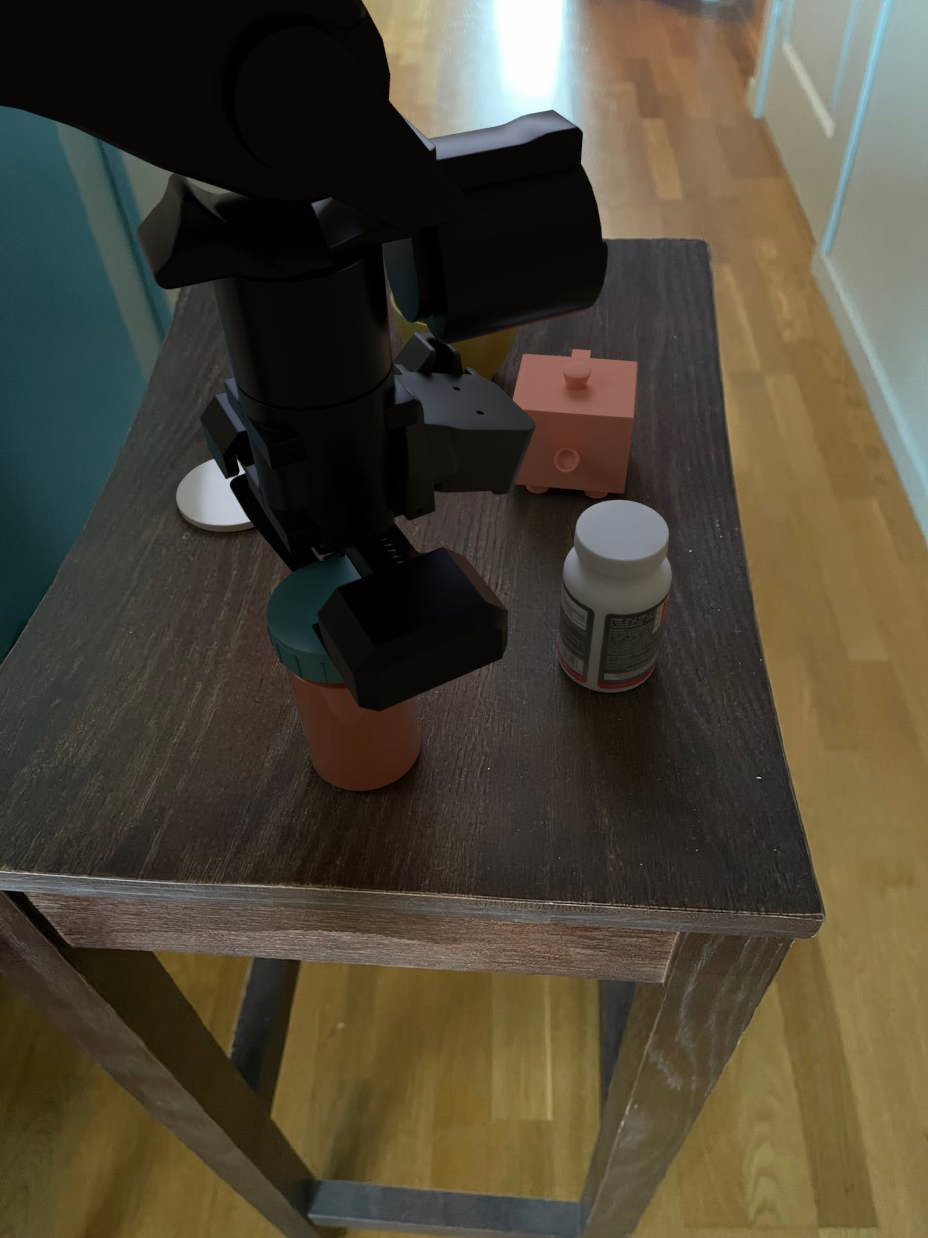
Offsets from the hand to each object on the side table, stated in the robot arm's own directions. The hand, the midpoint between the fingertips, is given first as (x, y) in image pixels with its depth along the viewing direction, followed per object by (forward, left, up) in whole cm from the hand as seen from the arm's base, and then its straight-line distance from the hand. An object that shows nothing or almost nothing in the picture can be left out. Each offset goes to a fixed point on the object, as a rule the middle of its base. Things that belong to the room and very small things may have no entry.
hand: (359, 648), depth 44 cm
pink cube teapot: (+22, +13, -7) cm, 26 cm away
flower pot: (+22, +28, -7) cm, 36 cm away
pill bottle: (+14, -2, -7) cm, 16 cm away
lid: (-1, 0, +3) cm, 3 cm away
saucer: (+1, +24, -7) cm, 25 cm away
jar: (-1, 0, -7) cm, 7 cm away
